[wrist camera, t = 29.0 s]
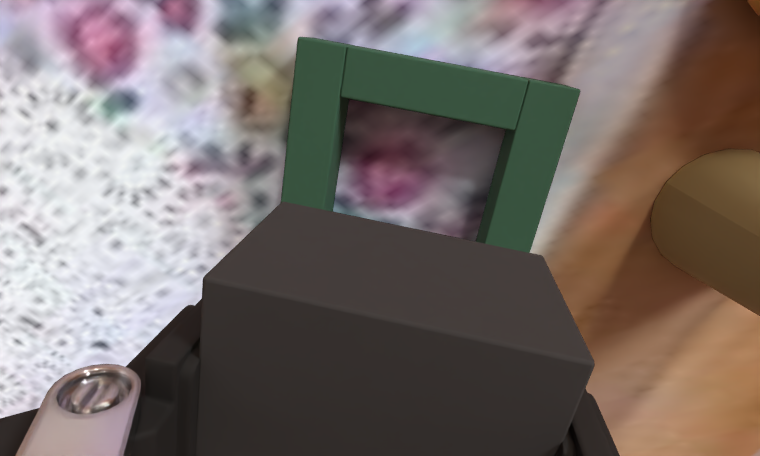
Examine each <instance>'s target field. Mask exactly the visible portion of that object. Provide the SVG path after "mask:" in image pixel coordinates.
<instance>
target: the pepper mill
mask: <svg viewBox="0 0 760 456" xmlns="http://www.w3.org/2000/svg"><path fill="white" fill-rule="evenodd" d="M650 222H651V230H652V238H653V240H654V242H655V244H656V246H657V248H658V249H659V251H660V253H661V255H662V256H664V257H665V258H666V259H667V260H668V261H670V262H671V263H672V264H673V265H674V266H676V267H677V268H679V269H681V270H683V271H684V272H686V273H688V274H689V275H691V276H693V277H694V278H696V279H698V280H700V281H701V282H703V283H705V284H706V285H708V286H710V287H711V288H713V289H715V290H717V291H718V292H720V293H722V294H723V295H725V296H727V297H728V298H730V299H732V300H734V301H735V302H737V303H739V304H740V305H742V306H744V307H745V308H747V309H749V310H751V311H752V312H754V313H756V314H757V315H759V316H760V153H759V152H757V151H754V150H746V149H726V150H721V151H717V152H713V153H709V154H705V155H703V156H701V157H699V158H697V159H696V160H694V161H692V162H690V163H688V164H686V165H684V166H683V167H682V168H681V169H680V170H679V171H678V172H676V173H675V174H674V175H673V176H672V177H671V178H670V179H669V180H668V181H667V182H666V183H665V185H664V187H663V188H662V190H661V192H660V193H659V195H658V197H657V198H656V200H655V202H654V207H653V211H652V215H651V220H650Z"/></svg>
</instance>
